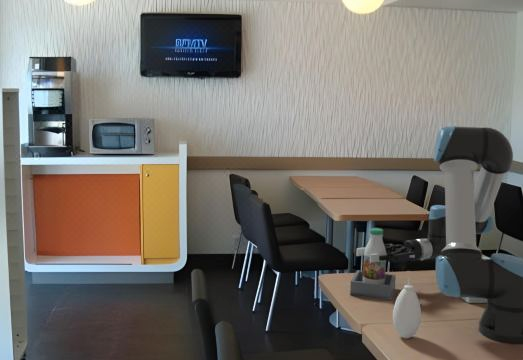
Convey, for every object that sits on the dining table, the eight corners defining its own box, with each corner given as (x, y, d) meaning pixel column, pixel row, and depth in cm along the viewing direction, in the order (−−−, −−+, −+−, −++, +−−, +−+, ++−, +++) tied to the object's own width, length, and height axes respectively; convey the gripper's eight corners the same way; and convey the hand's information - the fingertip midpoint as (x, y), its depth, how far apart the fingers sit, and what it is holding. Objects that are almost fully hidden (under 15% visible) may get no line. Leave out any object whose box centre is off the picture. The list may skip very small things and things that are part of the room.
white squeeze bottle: (390, 330, 175) (393, 272, 172) (417, 332, 174) (421, 273, 172) (393, 341, 167) (397, 280, 165) (421, 343, 166) (425, 282, 164)
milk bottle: (362, 280, 214) (365, 226, 211) (383, 281, 213) (387, 227, 210) (362, 286, 206) (365, 231, 203) (385, 288, 205) (388, 232, 202)
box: (391, 300, 201) (391, 286, 200) (350, 295, 205) (350, 281, 205) (394, 288, 214) (395, 274, 214) (356, 283, 218) (357, 270, 218)
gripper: (434, 267, 207) (380, 274, 197) (398, 252, 225) (347, 257, 216) (436, 246, 205) (381, 252, 196) (399, 233, 224) (348, 237, 215)
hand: (363, 255), depth 206 cm, fingers closed on milk bottle, 8 cm apart
